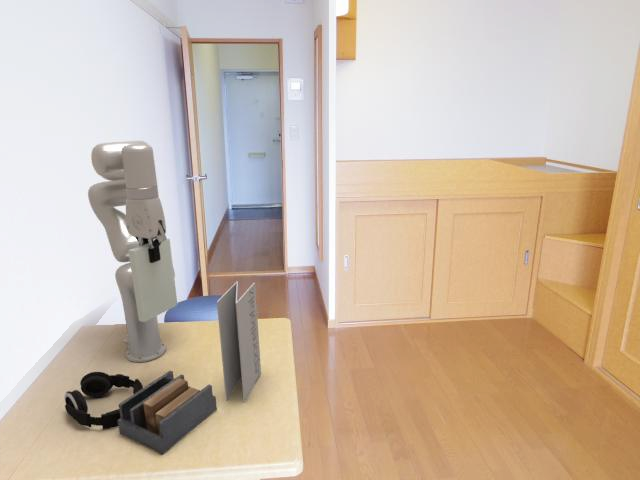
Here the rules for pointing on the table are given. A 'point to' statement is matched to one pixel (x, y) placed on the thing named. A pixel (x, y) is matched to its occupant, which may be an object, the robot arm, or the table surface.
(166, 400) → the offcut tall
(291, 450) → the table surface
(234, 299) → the brochure
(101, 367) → the table surface
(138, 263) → the pale grey panel
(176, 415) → the rack
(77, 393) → the headphones
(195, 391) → the offcut short
